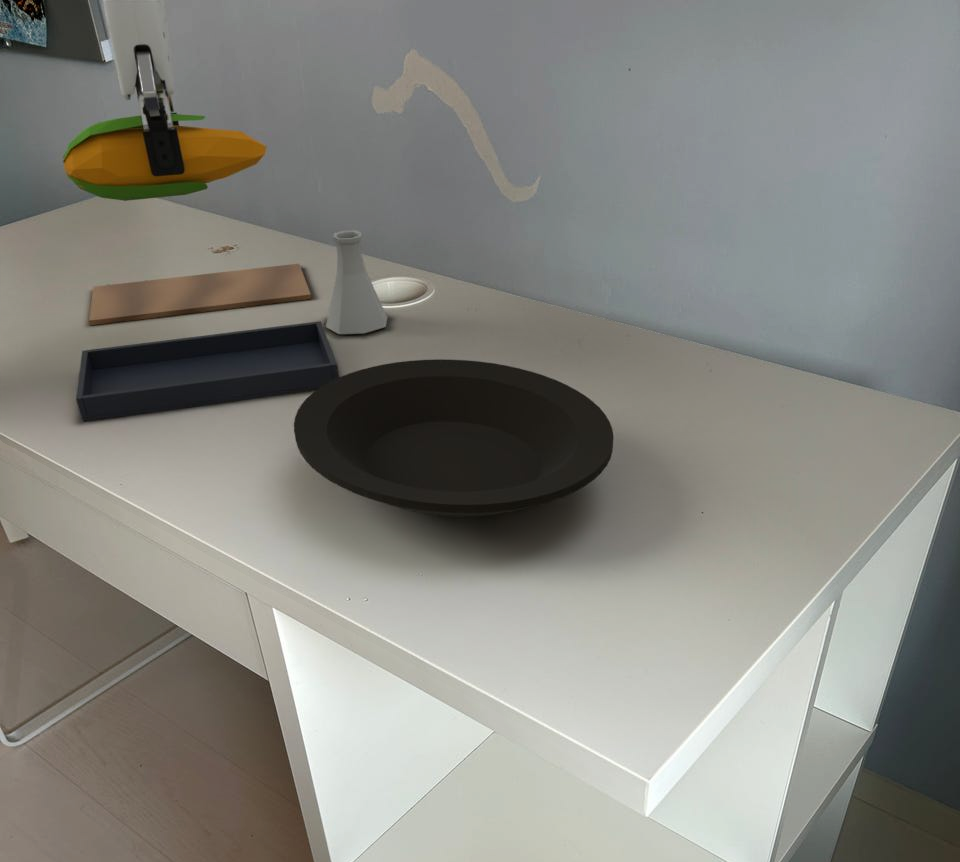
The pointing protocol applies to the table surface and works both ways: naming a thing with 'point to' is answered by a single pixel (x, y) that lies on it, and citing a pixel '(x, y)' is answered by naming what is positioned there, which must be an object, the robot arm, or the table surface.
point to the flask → (353, 290)
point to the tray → (203, 370)
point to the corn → (125, 166)
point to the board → (197, 293)
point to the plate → (453, 436)
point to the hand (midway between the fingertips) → (168, 163)
